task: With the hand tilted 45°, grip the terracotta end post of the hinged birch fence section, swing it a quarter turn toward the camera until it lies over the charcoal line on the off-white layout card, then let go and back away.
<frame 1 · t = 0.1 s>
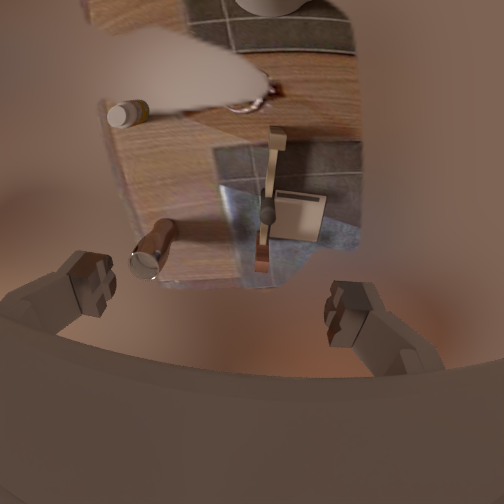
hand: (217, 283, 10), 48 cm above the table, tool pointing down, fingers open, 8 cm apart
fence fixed: (271, 162, 54), on the table
fence gate: (263, 234, 55), point 7 cm above the table, hinge at 0.0°
beer glass: (166, 229, 63), on the table
supplement bottle: (138, 111, 49), on the table
layout card: (297, 216, 60), on the table
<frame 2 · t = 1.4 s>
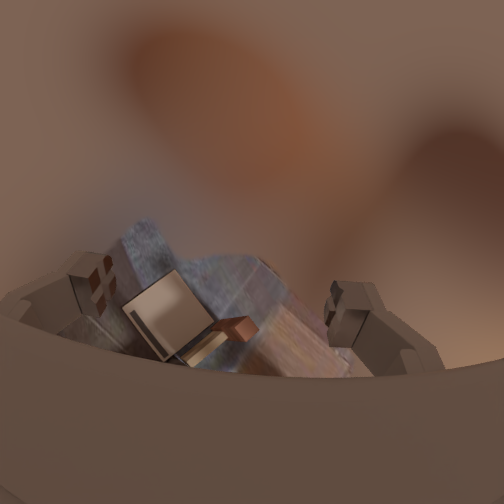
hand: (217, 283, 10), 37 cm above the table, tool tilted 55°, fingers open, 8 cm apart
fence gate: (213, 344, 39), point 7 cm above the table, hinge at 0.0°
layout card: (168, 315, 43), on the table
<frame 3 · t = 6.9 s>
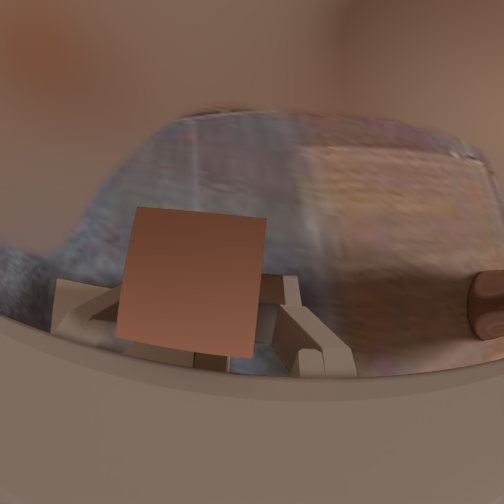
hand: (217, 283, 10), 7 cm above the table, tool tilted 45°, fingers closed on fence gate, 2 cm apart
fence gate: (207, 391, 10), point 7 cm above the table, hinge at 0.0°, touching gripper
beer glass: (485, 305, 18), on the table
layout card: (112, 372, 16), on the table
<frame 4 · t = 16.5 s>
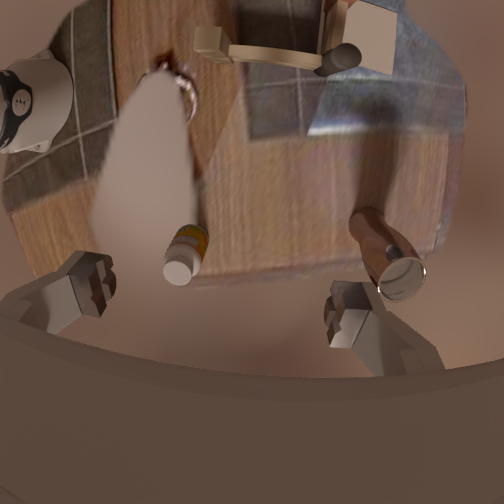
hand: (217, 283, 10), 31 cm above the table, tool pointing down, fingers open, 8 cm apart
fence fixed: (273, 60, 30), on the table
fence gate: (341, 16, 22), point 7 cm above the table, hinge at 87.4°
beer glass: (366, 223, 42), on the table
supplement bottle: (193, 238, 45), on the table
layout card: (359, 31, 27), on the table
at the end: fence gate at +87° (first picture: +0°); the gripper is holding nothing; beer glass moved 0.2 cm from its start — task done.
